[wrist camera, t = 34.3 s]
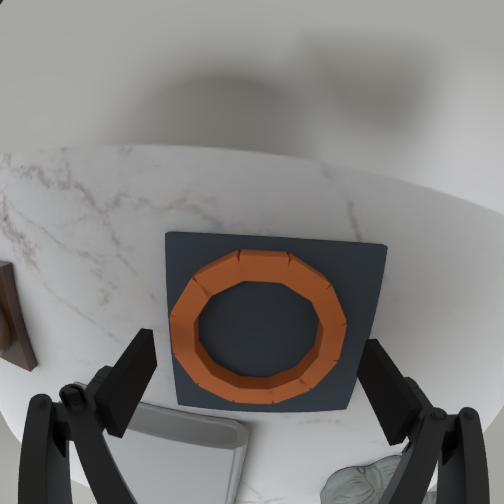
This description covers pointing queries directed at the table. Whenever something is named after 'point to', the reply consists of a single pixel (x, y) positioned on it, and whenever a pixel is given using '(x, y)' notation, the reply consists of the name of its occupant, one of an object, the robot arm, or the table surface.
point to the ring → (260, 270)
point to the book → (179, 456)
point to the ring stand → (13, 324)
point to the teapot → (364, 484)
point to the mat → (275, 316)
